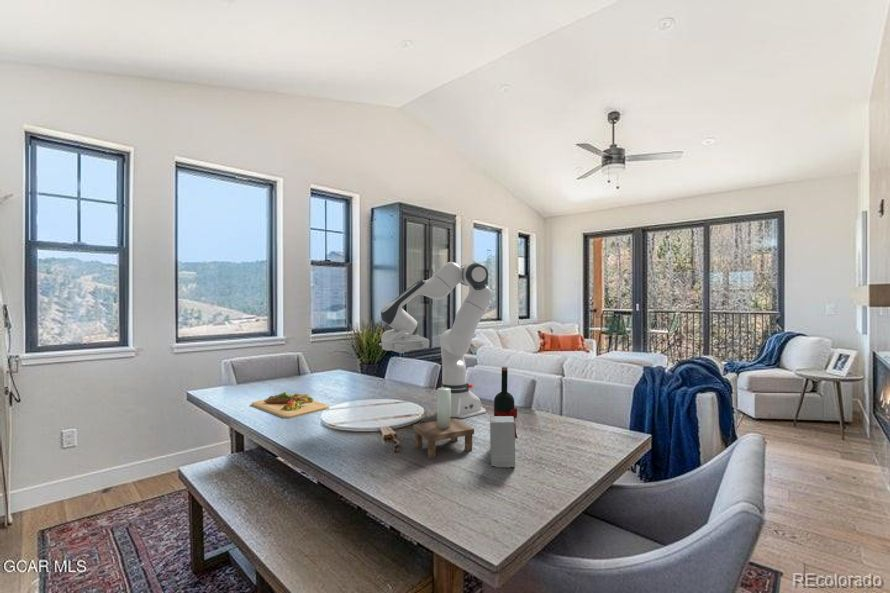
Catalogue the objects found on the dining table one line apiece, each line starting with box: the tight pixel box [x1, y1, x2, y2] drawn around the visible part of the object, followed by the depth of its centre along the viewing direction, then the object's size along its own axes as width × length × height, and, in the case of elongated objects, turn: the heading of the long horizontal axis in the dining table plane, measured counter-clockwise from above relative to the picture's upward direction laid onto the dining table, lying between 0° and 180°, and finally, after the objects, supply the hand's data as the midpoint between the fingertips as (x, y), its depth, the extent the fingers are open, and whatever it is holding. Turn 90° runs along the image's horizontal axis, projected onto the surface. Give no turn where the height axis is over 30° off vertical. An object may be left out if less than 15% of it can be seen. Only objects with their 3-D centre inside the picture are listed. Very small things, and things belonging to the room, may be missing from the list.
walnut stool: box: [413, 417, 475, 459], centre depth 164 cm, size 18×14×8 cm
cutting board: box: [251, 391, 330, 419], centre depth 218 cm, size 35×23×8 cm
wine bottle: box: [493, 366, 519, 440], centre depth 165 cm, size 8×10×30 cm
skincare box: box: [489, 415, 516, 468], centre depth 150 cm, size 8×7×16 cm
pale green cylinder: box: [436, 387, 452, 429], centre depth 164 cm, size 5×5×14 cm
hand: (412, 346), depth 182 cm, fingers open, 8 cm apart
